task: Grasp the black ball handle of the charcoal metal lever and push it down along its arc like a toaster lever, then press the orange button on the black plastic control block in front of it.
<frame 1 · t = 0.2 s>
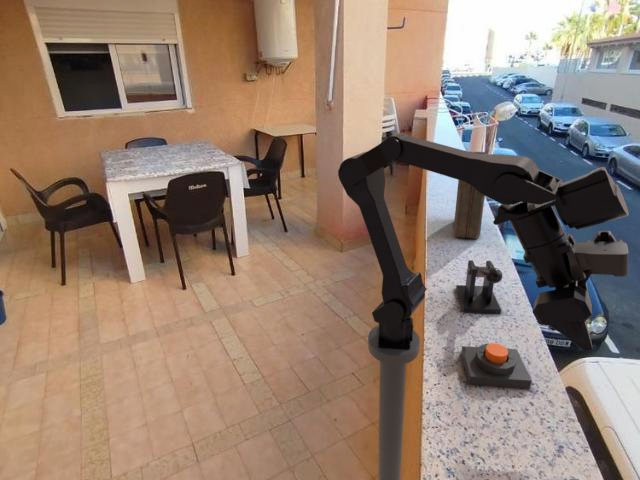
hand: (588, 332, 55), 15 cm above the balcony ledge, tool tilted 30°, fingers open, 9 cm apart
brown upright rectangular block: (466, 229, 128), on the balcony ledge
lever: (487, 273, 81), point 10 cm above the balcony ledge, hinge at 25.0°
button: (496, 353, 67), point 4 cm above the balcony ledge, slide at 0.1 cm
switch mount: (476, 300, 89), on the balcony ledge
control block: (493, 370, 69), on the balcony ledge
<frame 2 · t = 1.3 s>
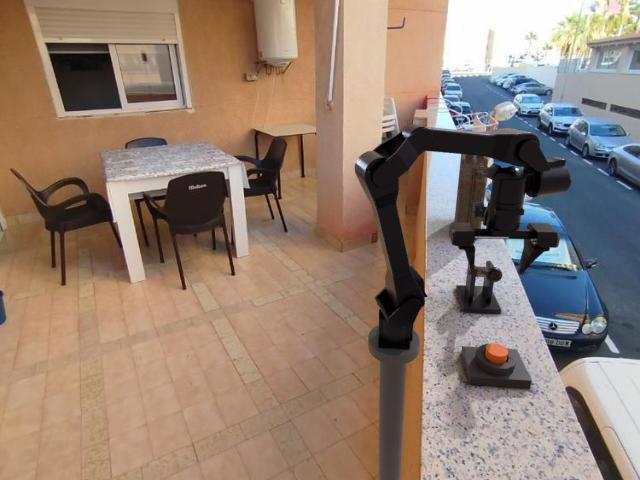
hand: (495, 272, 76), 13 cm above the balcony ledge, tool pointing down, fingers open, 9 cm apart
lever: (487, 273, 81), point 10 cm above the balcony ledge, hinge at 26.2°
everything else where it was.
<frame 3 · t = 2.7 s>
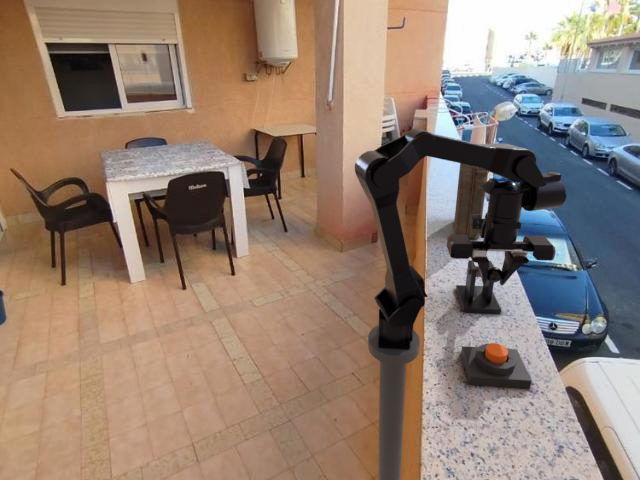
hand: (492, 284, 77), 10 cm above the balcony ledge, tool pointing down, fingers closed on lever, 3 cm apart
lever: (487, 273, 81), point 10 cm above the balcony ledge, hinge at 26.2°, touching gripper
everything else where it was.
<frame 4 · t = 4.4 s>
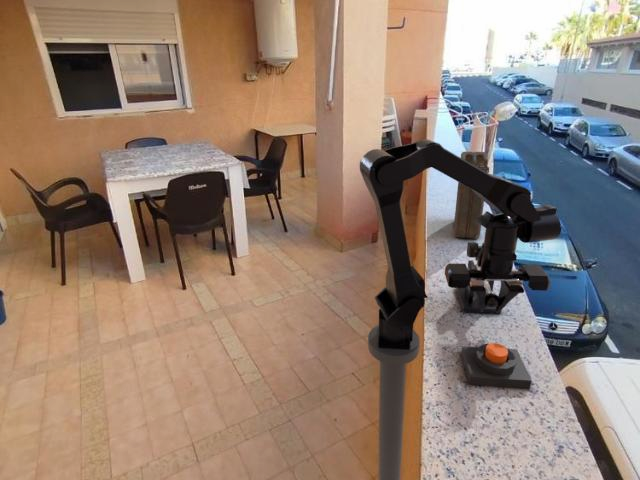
hand: (489, 310, 79), 4 cm above the balcony ledge, tool pointing down, fingers closed on lever, 3 cm apart
lever: (485, 285, 82), point 7 cm above the balcony ledge, hinge at -7.7°, touching gripper
everything else where it was.
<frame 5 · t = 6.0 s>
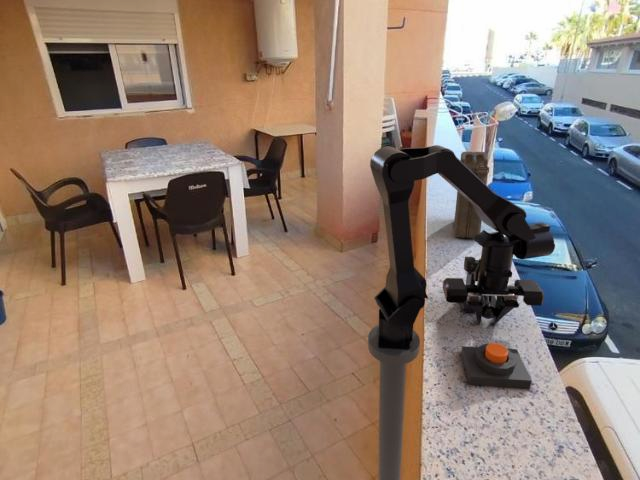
hand: (485, 323, 82), 0 cm above the balcony ledge, tool pointing down, fingers closed on lever, 3 cm apart
lever: (484, 291, 83), point 6 cm above the balcony ledge, hinge at -29.0°, touching gripper
everything else where it was.
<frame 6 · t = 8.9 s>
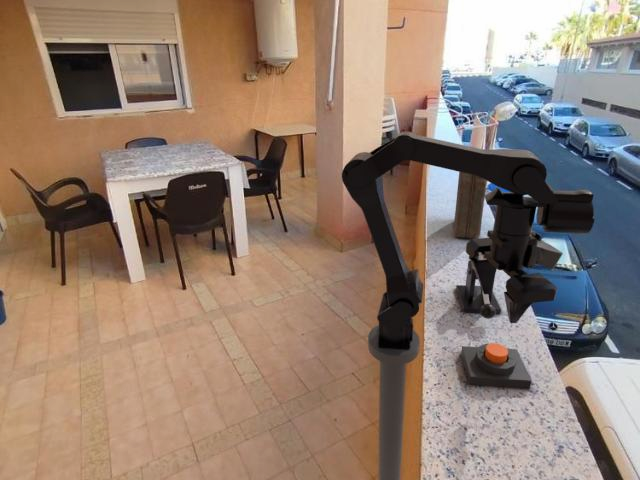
hand: (499, 307, 68), 11 cm above the balcony ledge, tool pointing down, fingers open, 9 cm apart
lever: (484, 291, 83), point 6 cm above the balcony ledge, hinge at -28.6°
everything else where it was.
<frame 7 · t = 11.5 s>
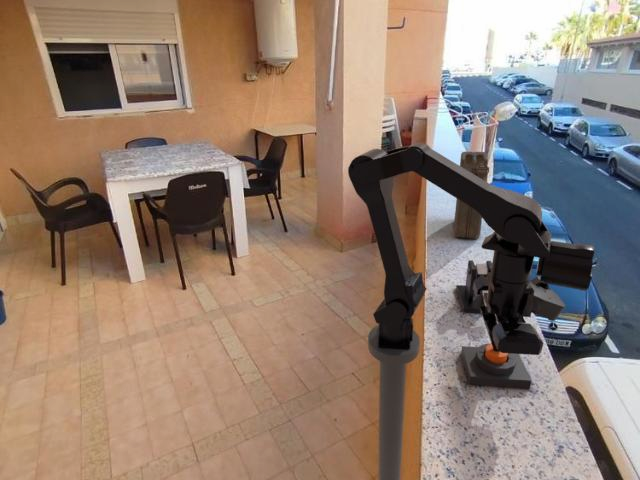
hand: (496, 350, 67), 5 cm above the balcony ledge, tool pointing down, fingers closed, pressing on button
button: (496, 353, 67), point 4 cm above the balcony ledge, slide at 0.0 cm, touching gripper
everything else where it was.
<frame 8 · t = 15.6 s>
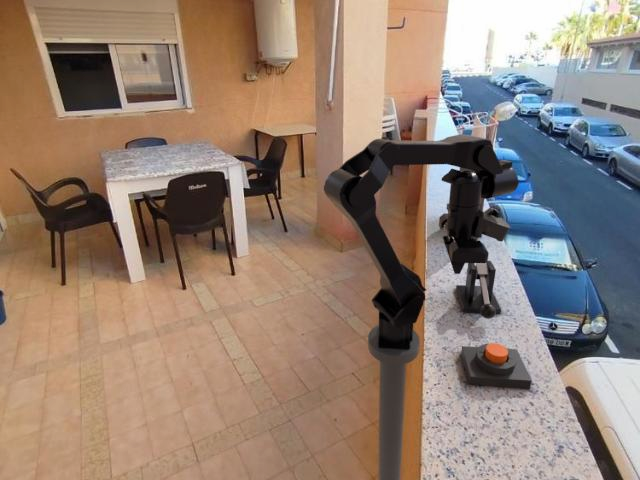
hand: (456, 273, 78), 12 cm above the balcony ledge, tool pointing down, fingers closed
button: (496, 353, 67), point 4 cm above the balcony ledge, slide at 0.1 cm
everything else where it was.
at the end: lever at -29° (first picture: +25°); button pushed in 1.0 cm at the most during the clip, back to where it started at the end; button slide at 0.1 cm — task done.
